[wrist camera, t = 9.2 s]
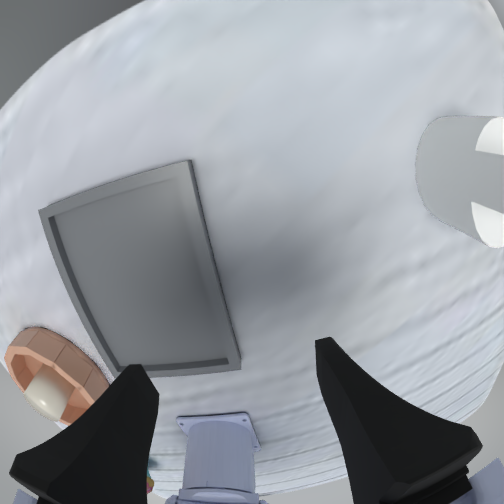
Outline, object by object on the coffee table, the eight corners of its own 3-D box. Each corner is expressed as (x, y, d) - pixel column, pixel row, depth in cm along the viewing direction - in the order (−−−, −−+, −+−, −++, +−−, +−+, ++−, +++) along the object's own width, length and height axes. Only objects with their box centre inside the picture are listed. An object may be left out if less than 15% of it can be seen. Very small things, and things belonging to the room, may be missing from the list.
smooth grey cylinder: (82, 392, 23) (67, 424, 18) (55, 388, 23) (40, 417, 18) (62, 362, 21) (42, 395, 16) (36, 359, 21) (16, 388, 16)
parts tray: (241, 357, 22) (241, 369, 21) (118, 368, 22) (114, 377, 21) (191, 159, 16) (187, 160, 15) (48, 205, 16) (38, 210, 15)
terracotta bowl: (131, 412, 25) (124, 435, 22) (57, 403, 25) (48, 421, 22) (73, 324, 20) (56, 347, 17) (4, 327, 20) (-11, 344, 17)
